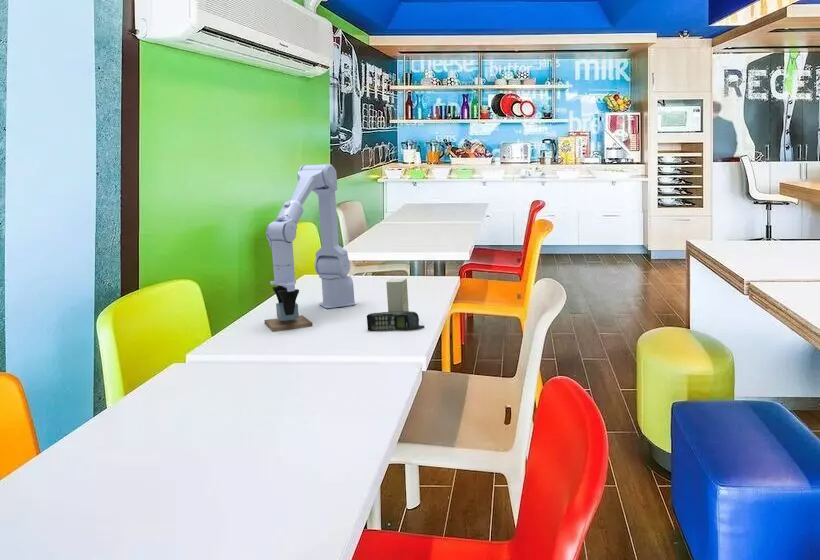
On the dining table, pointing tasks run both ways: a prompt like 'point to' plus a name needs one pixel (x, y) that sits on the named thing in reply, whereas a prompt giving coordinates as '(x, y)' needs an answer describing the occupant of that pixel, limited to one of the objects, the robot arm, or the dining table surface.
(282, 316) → the slate blue cube
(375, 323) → the mobile phone
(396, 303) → the skincare box
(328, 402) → the dining table surface
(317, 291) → the dining table surface
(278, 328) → the board
